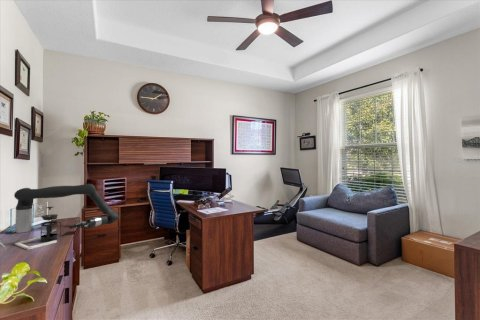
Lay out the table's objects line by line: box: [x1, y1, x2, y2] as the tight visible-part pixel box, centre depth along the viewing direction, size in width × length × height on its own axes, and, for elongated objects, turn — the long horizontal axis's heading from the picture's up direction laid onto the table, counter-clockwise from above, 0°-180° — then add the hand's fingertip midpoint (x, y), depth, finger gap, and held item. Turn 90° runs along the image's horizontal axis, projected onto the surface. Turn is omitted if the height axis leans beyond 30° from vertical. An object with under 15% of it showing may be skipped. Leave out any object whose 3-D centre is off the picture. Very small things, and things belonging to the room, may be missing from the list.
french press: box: [39, 206, 62, 243], centre depth 160 cm, size 12×9×23 cm
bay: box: [14, 236, 58, 250], centre depth 153 cm, size 18×16×1 cm
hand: (69, 227), depth 170 cm, fingers closed
